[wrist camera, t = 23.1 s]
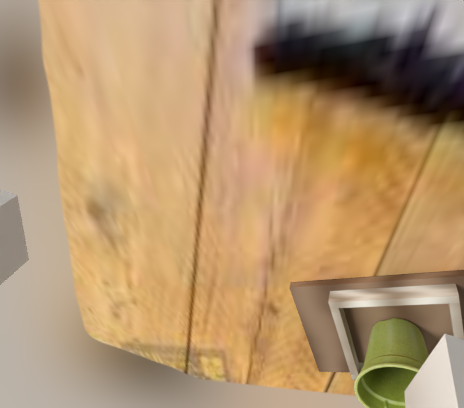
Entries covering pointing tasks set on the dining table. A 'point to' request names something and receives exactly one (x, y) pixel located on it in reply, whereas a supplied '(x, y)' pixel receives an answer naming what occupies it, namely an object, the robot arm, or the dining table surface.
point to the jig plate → (376, 312)
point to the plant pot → (390, 363)
